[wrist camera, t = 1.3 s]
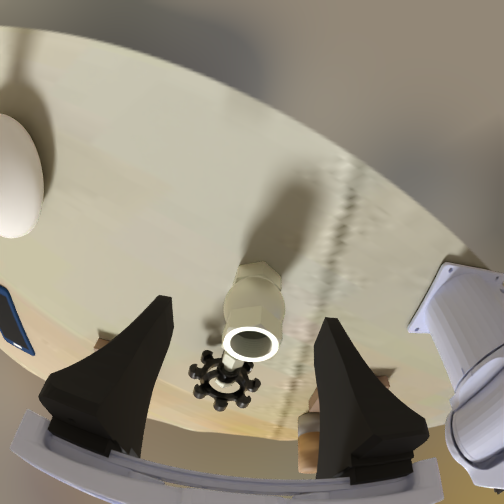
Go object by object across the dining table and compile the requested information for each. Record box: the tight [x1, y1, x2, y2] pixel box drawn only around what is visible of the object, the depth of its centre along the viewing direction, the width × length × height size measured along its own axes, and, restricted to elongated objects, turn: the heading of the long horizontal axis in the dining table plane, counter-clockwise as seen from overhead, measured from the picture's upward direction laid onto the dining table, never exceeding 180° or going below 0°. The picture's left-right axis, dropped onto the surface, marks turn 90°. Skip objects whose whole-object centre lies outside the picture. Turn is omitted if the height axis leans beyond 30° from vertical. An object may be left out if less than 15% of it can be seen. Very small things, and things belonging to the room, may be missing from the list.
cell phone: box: [0, 285, 35, 356], centre depth 30 cm, size 7×14×1 cm, turn 167°
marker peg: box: [298, 412, 320, 473], centre depth 31 cm, size 4×4×8 cm
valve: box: [188, 261, 285, 411], centre depth 22 cm, size 7×7×12 cm
